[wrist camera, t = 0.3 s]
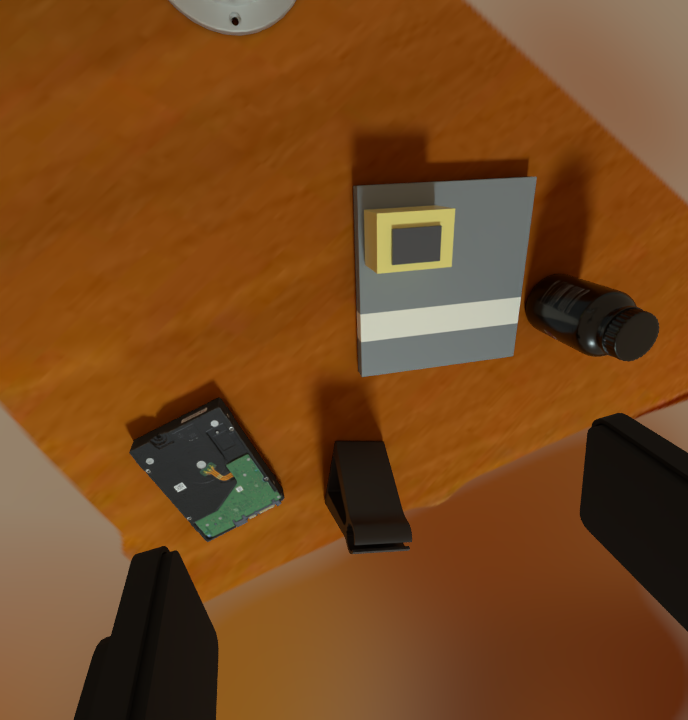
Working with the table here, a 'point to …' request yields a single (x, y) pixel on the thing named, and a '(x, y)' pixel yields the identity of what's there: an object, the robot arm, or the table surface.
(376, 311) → the board
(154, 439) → the disk drive
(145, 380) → the table surface
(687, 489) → the robot arm
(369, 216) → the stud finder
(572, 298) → the supplement bottle
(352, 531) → the phone stand
